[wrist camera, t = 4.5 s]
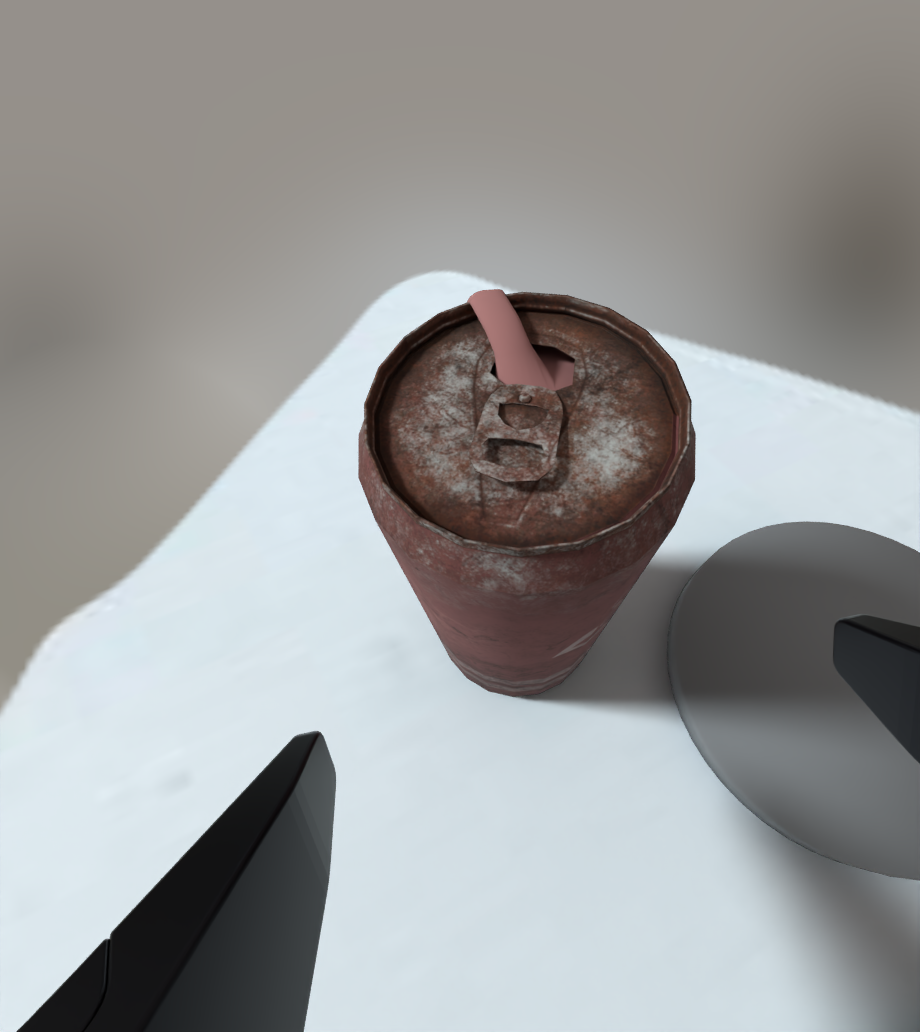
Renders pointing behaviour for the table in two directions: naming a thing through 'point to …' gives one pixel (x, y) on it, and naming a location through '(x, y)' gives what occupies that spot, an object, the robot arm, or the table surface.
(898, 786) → the charcoal mat
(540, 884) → the table surface
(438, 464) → the can
